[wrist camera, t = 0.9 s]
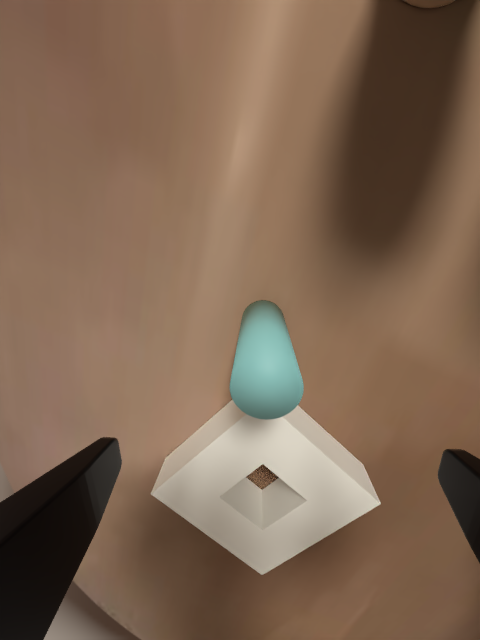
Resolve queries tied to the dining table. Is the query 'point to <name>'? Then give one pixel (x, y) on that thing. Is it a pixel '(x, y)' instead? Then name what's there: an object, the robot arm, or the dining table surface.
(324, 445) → the socket block
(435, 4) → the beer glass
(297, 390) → the peg
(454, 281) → the dining table surface
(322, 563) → the dining table surface
